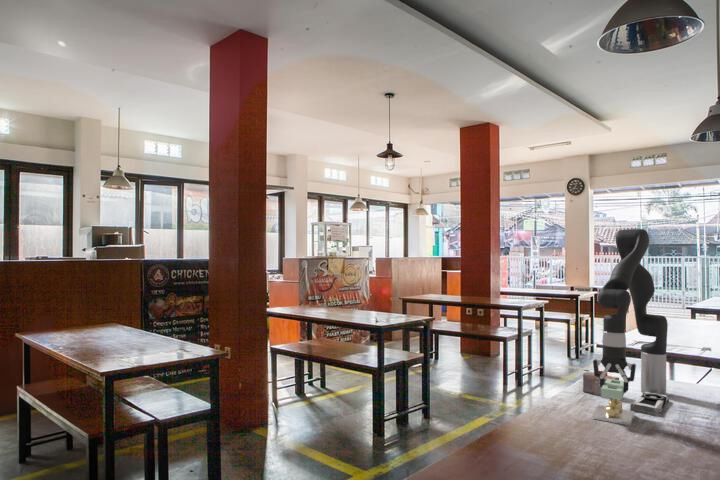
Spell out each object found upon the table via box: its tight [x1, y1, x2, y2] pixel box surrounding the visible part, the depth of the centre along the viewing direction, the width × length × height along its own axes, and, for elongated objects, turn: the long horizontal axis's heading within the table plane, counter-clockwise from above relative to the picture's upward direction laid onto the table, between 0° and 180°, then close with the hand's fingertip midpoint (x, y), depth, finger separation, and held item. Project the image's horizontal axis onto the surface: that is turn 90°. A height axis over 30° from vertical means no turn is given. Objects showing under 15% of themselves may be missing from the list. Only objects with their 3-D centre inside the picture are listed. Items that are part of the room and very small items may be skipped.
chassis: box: [592, 398, 636, 426], centre depth 178 cm, size 13×12×8 cm
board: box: [600, 379, 626, 401], centre depth 179 cm, size 16×6×3 cm, turn 146°
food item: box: [582, 370, 620, 397], centre depth 207 cm, size 14×8×10 cm, turn 42°
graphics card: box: [629, 392, 670, 418], centre depth 192 cm, size 10×3×25 cm
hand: (614, 390), depth 179 cm, fingers closed on board, 6 cm apart
